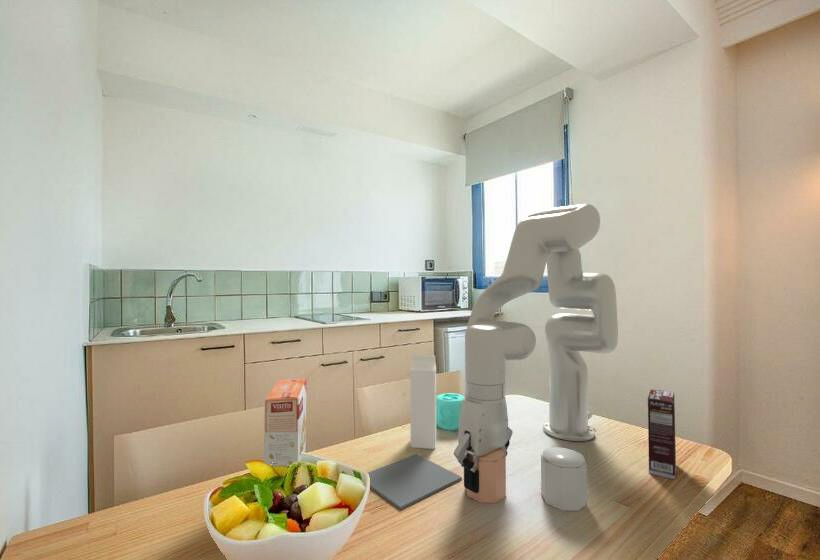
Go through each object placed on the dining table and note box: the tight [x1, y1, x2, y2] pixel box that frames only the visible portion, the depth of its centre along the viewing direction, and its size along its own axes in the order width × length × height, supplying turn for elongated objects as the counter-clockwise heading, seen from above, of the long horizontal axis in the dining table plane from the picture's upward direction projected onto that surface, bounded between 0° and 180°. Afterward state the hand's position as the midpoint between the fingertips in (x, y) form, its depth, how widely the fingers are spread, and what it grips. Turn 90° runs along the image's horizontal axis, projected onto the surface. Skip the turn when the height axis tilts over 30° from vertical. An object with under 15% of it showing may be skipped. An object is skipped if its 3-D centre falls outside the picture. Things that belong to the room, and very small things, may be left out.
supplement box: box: [647, 389, 677, 480], centre depth 83 cm, size 9×5×16 cm, turn 145°
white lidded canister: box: [540, 446, 588, 512], centre depth 71 cm, size 7×7×8 cm
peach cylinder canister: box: [465, 447, 507, 504], centre depth 74 cm, size 7×7×8 cm
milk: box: [409, 354, 437, 450], centre depth 96 cm, size 6×6×22 cm
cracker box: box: [263, 378, 308, 467], centre depth 71 cm, size 14×6×21 cm, turn 9°
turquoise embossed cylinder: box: [436, 392, 465, 432], centre depth 108 cm, size 8×8×8 cm
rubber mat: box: [367, 453, 463, 511], centre depth 78 cm, size 16×14×1 cm
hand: (485, 481), depth 74 cm, fingers closed on peach cylinder canister, 7 cm apart
